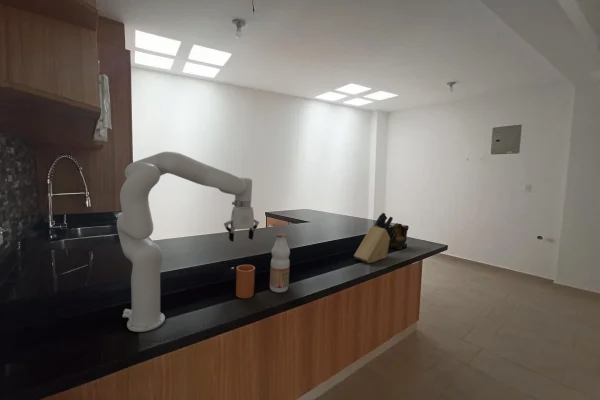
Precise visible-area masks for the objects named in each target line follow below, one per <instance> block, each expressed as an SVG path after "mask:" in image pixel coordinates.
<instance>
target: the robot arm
mask: <svg viewBox="0 0 600 400" xmlns="http://www.w3.org/2000/svg"><path fill="white" fill-rule="evenodd" d="M165 174H170V175H174V176H176V177H179V178H181V179H183V180H186V181H188V182H189V181H190V182H192V183H195V184H197V185H201V186H204V187H209V188H215V189H218V190H219V191H220V192H221V193H224V194H228V195H233V196H234V200H233V201H232V202H231V205H232V206H233V207H232V211H231V216H230V219H229V220H228V221H226V222H224V223H223V226H224V228H225V230H226V231H227V232H228V240H229V241H230V242H234V240H235V233H234V232H235V231H236V230H246V229H247V230H248V229H249V230H248V239H249V240H251V241H253V239H254V233H255V230H256V229H258V225H259V224H260V221H258V220H256V219H255V216H254V215H255V214H254V207H253V206H252V197H253V196H252V195H253V180H252V178H250V177H243V176H242V177H241V176H240V177H239V176H236V175H234V174H232V173H230V172H227V171H225V170H222V169H218V168H217V167H214V166H211V165H208V164H206V163H203V162H201V161H199V160H197V159H194V158H192V157H190V156H187V155H185V154H183V153H180V152H178V151H162V152H159V153H156V154H153V155H150V156H148V157H144V158H141V159H139V160H136V161H133V162H131V163H130V164H128V165H127V166H126V168H125V169H124V176H125V178H126V179H125V181H123V182H124V183H123V185H122V186H121V188H120V192H119V201H120V208H121V213H120V214H119V215H118V217H117V220H116V229H117V233H118V238H119V243H120V247H121V250H122V253H123V255H124V257H126V258H127V260H129V261H130V262H131V263H132V269H131V275H130V288H131V289H130V291H131V292H130V293H131V309H129V308H124V310H123V314H122V318H125V319H126V318H128V320H127V323H126V327H127V329H128V330H129V331H132V332H134V333H135V332H136V333H142V332H143V333H144V332H148V331H153V330H155V329H158V328H159V327H160V326H162V325H163V324H164V323H165V320H166V316H165V314H164V313H162V312H161V268H162V262H163V252H162V250H161V248H160V246H159V245H158V244H157V243H155V242H154V241H152V240H150V239H149V237H150V236H151V235H152V234H153V232H154V221H153V218H152V214H151V209H150V202H149V195H150V192H151V191H152V189H153V188H154V187H155V186H156V185H157V184H158V183H159V181H160V179H161V176H164V175H165ZM229 226H230V227H229Z"/></svg>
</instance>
